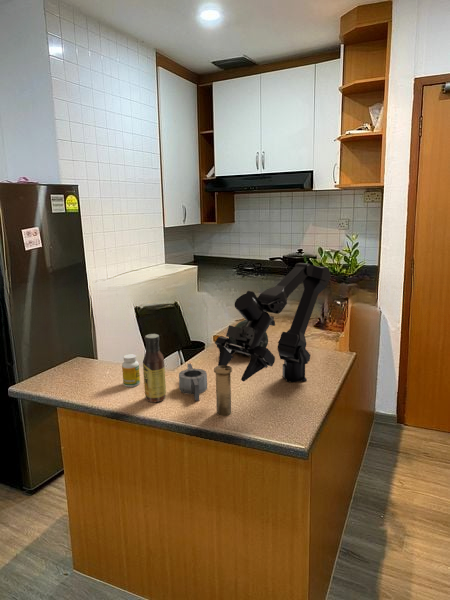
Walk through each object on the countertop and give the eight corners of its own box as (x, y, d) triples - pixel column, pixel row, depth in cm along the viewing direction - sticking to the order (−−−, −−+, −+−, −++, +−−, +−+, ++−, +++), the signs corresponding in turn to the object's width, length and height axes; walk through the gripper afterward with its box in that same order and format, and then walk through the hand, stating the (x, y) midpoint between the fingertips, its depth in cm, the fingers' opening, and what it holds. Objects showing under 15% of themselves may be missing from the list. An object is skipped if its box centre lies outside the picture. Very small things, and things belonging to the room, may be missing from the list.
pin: (231, 408, 125) (230, 364, 122) (233, 416, 120) (233, 370, 118) (214, 409, 124) (213, 365, 122) (216, 417, 120) (215, 372, 117)
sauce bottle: (146, 395, 135) (142, 332, 131) (166, 393, 136) (163, 331, 132) (144, 404, 129) (139, 338, 125) (165, 403, 129) (162, 337, 125)
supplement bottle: (125, 381, 146) (123, 353, 144) (141, 380, 147) (139, 353, 145) (122, 387, 141) (119, 359, 139) (138, 387, 141) (136, 358, 139)
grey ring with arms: (177, 379, 147) (176, 364, 146) (202, 376, 149) (201, 362, 148) (183, 402, 129) (182, 386, 128) (211, 399, 131) (211, 383, 130)
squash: (240, 331, 182) (231, 310, 171) (275, 335, 176) (268, 314, 165) (229, 361, 175) (219, 341, 163) (265, 367, 169) (258, 347, 157)
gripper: (218, 309, 129) (191, 354, 123) (268, 319, 116) (240, 370, 111) (237, 329, 136) (212, 373, 131) (286, 341, 123) (260, 390, 118)
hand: (229, 376), depth 122 cm, fingers open, 9 cm apart
